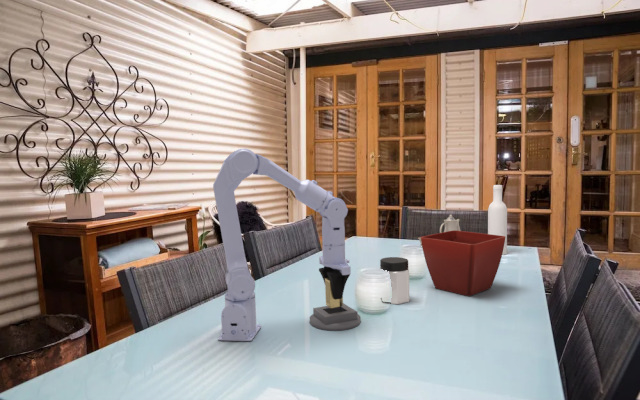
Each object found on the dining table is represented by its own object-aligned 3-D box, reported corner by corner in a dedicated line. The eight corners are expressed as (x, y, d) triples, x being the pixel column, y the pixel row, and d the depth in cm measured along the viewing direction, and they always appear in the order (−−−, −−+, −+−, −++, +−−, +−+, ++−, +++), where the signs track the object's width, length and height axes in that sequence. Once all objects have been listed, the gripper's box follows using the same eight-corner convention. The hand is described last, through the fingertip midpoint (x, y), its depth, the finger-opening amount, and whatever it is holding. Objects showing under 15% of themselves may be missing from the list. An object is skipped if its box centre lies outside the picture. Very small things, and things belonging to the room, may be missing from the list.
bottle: (508, 252, 195) (509, 184, 193) (505, 255, 188) (506, 185, 186) (489, 251, 199) (489, 184, 197) (485, 254, 193) (486, 185, 190)
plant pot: (473, 301, 127) (473, 243, 126) (419, 288, 142) (419, 236, 141) (506, 288, 139) (507, 235, 138) (453, 278, 154) (453, 230, 153)
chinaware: (448, 245, 226) (445, 212, 226) (478, 245, 213) (475, 211, 213) (413, 252, 208) (410, 217, 208) (444, 254, 195) (440, 216, 195)
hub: (322, 334, 105) (321, 321, 104) (302, 317, 117) (302, 306, 116) (369, 325, 110) (369, 313, 110) (346, 310, 122) (346, 299, 122)
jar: (375, 301, 129) (374, 261, 128) (385, 294, 136) (384, 256, 135) (404, 306, 124) (404, 264, 123) (413, 298, 131) (413, 258, 131)
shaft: (330, 308, 111) (329, 280, 110) (325, 304, 114) (324, 278, 113) (345, 305, 112) (344, 278, 112) (339, 302, 115) (339, 276, 115)
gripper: (361, 247, 107) (362, 302, 108) (335, 238, 120) (336, 287, 121) (334, 250, 104) (336, 306, 105) (311, 241, 117) (312, 291, 118)
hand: (334, 296), depth 113 cm, fingers closed on shaft, 3 cm apart
